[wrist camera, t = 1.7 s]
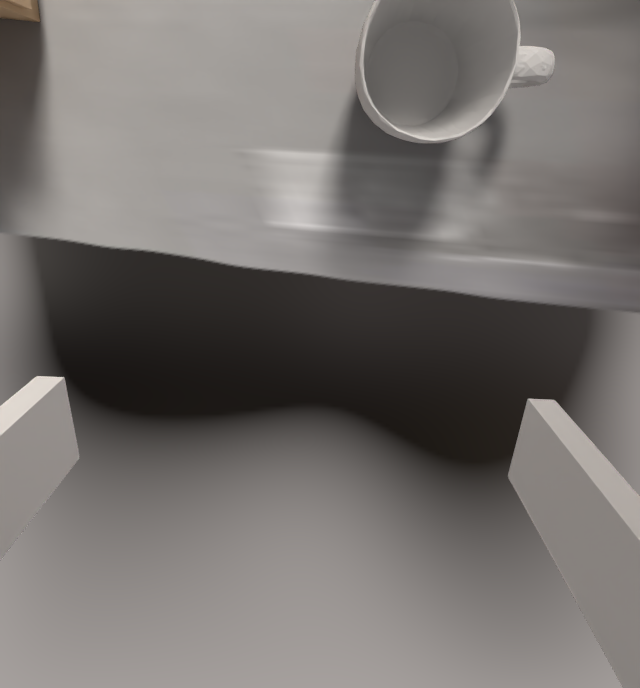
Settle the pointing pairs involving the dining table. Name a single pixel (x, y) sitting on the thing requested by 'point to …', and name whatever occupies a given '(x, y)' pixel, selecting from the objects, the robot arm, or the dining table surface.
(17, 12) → the carton
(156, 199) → the dining table surface
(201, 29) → the dining table surface
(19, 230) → the dining table surface
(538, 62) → the mug
